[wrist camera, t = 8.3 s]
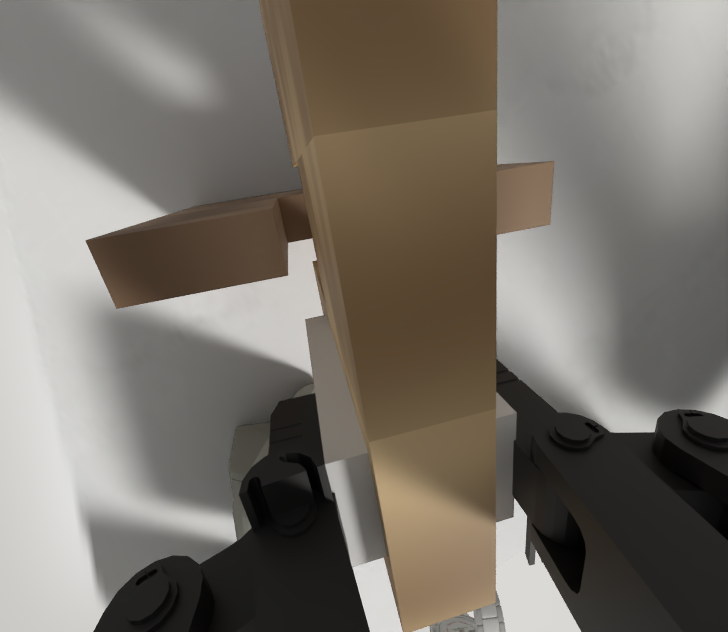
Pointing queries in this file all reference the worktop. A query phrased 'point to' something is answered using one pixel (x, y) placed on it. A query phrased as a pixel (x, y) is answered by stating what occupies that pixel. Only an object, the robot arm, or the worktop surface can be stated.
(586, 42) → the worktop surface
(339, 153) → the notched board
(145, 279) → the notched stand
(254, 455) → the digital clock
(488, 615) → the watch
